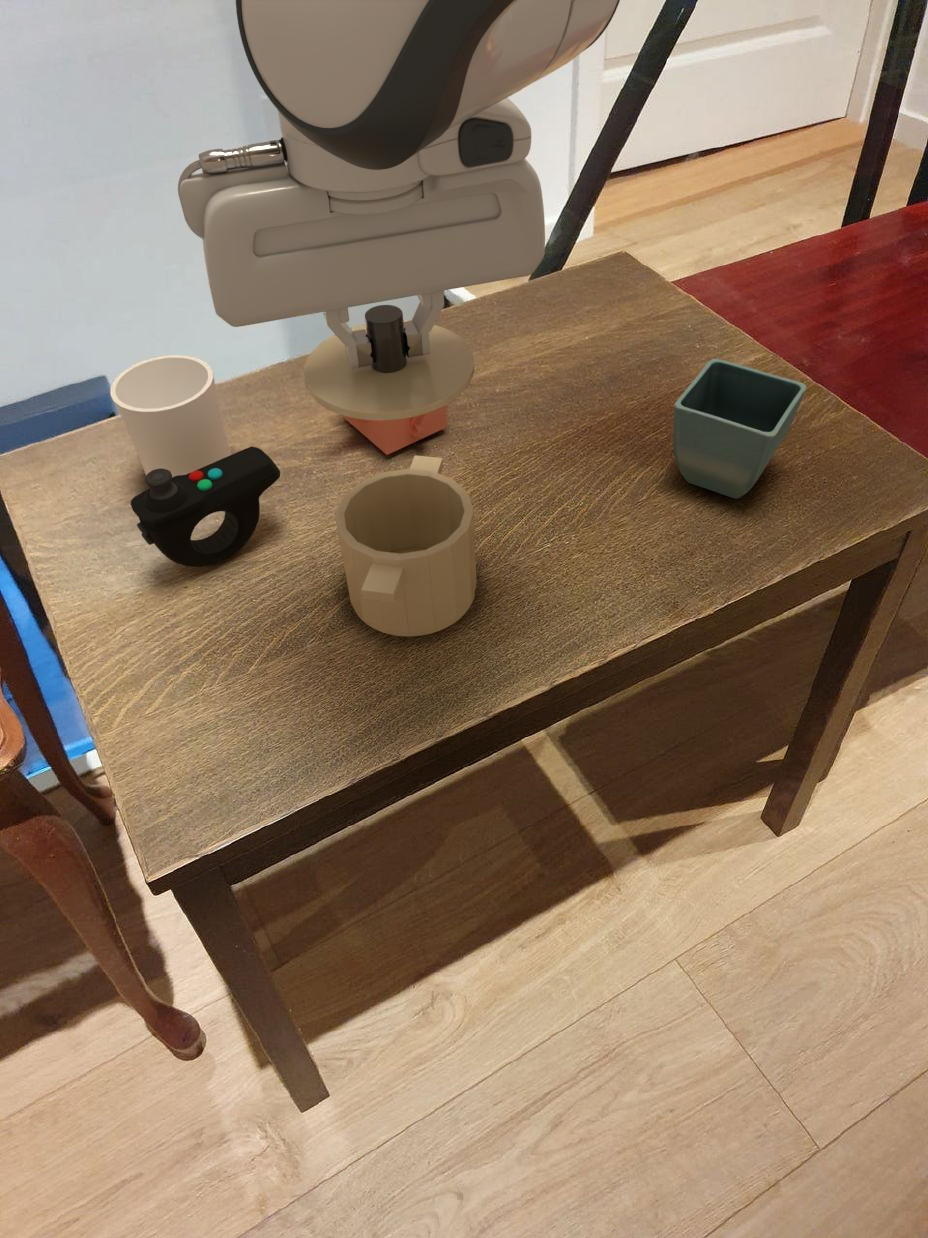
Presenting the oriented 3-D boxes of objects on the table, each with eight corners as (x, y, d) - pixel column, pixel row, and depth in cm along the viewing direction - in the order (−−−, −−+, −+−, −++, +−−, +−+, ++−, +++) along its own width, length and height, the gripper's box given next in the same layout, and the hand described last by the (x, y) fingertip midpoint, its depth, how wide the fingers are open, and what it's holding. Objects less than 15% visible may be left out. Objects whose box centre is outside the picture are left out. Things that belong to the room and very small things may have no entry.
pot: (491, 533, 78) (490, 455, 72) (454, 671, 68) (448, 593, 62) (378, 520, 80) (367, 443, 74) (324, 653, 70) (305, 576, 63)
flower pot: (785, 466, 83) (809, 382, 76) (751, 520, 78) (774, 436, 72) (696, 438, 86) (712, 355, 80) (658, 488, 82) (672, 405, 75)
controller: (151, 568, 77) (113, 477, 70) (275, 507, 82) (252, 416, 74) (173, 596, 75) (136, 504, 67) (299, 531, 79) (278, 439, 72)
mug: (255, 479, 85) (230, 385, 77) (169, 518, 81) (134, 424, 74) (204, 427, 91) (177, 335, 83) (122, 462, 87) (85, 369, 80)
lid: (488, 341, 62) (487, 277, 59) (455, 436, 55) (451, 369, 51) (335, 329, 64) (325, 266, 61) (283, 420, 57) (268, 354, 53)
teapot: (300, 427, 90) (285, 353, 84) (422, 375, 96) (416, 302, 90) (362, 485, 83) (350, 410, 77) (489, 425, 89) (488, 350, 83)
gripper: (172, 179, 44) (235, 414, 54) (559, 121, 48) (550, 353, 58) (164, 135, 48) (224, 361, 59) (521, 85, 52) (519, 307, 62)
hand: (388, 357), depth 58 cm, fingers closed on lid, 2 cm apart
